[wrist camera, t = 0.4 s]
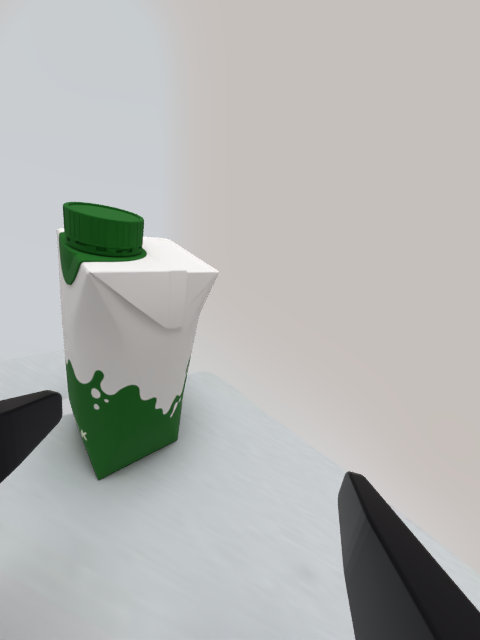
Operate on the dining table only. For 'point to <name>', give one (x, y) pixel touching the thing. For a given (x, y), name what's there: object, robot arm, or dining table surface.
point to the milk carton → (126, 331)
